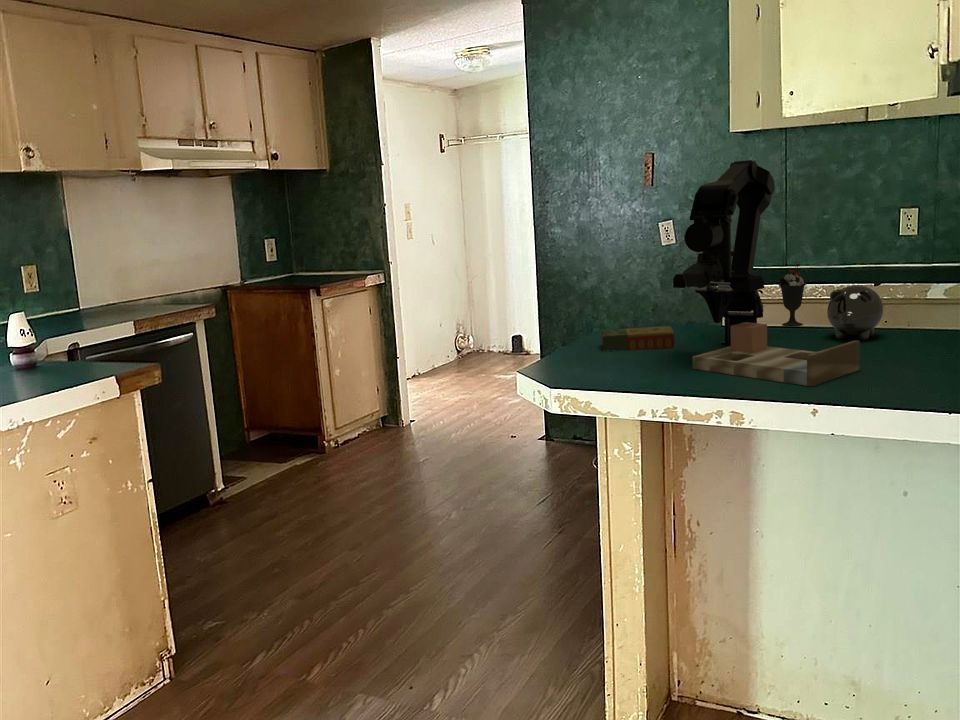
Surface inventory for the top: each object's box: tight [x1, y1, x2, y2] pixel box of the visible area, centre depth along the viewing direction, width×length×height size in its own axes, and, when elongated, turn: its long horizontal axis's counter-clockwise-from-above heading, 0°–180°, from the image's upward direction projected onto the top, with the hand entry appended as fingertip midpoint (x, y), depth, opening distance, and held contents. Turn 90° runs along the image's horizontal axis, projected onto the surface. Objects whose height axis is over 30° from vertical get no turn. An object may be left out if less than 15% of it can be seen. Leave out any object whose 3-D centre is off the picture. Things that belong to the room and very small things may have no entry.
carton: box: [601, 325, 676, 352], centre depth 190 cm, size 8×16×4 cm, turn 83°
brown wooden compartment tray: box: [692, 339, 861, 387], centre depth 158 cm, size 26×16×6 cm, turn 38°
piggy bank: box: [826, 284, 884, 341], centre depth 182 cm, size 11×15×12 cm
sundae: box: [777, 263, 808, 328], centre depth 202 cm, size 7×7×15 cm
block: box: [731, 322, 768, 353], centre depth 166 cm, size 5×5×5 cm
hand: (717, 322), depth 171 cm, fingers closed
